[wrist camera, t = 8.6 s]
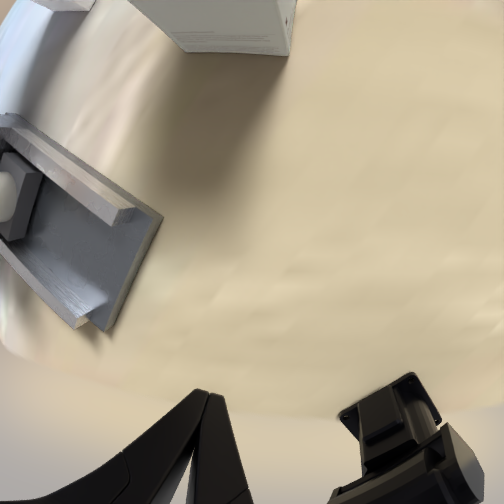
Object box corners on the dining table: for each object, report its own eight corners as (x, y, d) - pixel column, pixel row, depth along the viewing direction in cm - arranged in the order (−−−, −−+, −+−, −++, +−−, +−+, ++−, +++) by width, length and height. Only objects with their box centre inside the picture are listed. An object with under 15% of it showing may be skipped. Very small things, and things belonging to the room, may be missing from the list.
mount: (163, 216, 21) (87, 233, 13) (113, 324, 23) (48, 370, 16) (16, 114, 22) (-47, 106, 14) (-11, 203, 25) (-69, 212, 17)
